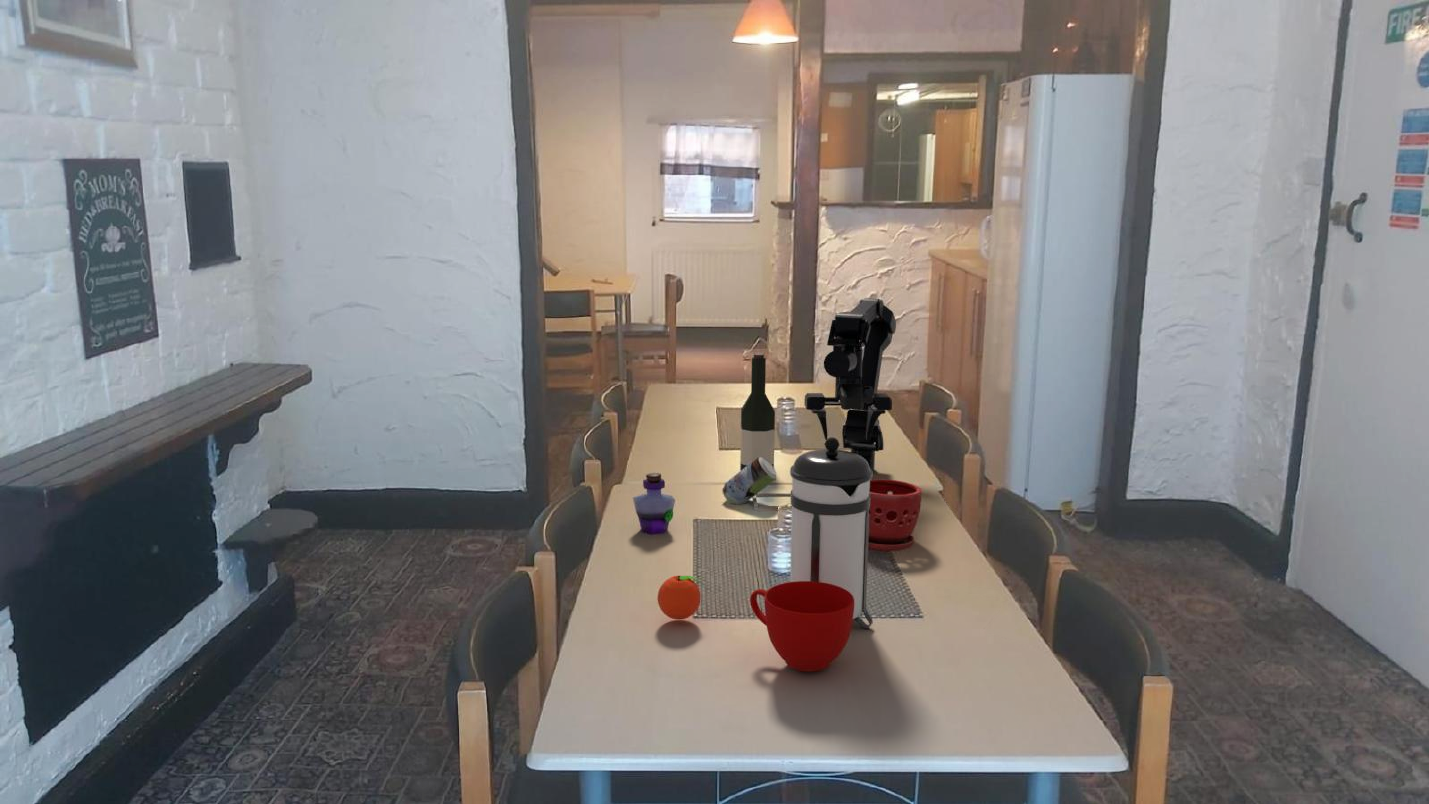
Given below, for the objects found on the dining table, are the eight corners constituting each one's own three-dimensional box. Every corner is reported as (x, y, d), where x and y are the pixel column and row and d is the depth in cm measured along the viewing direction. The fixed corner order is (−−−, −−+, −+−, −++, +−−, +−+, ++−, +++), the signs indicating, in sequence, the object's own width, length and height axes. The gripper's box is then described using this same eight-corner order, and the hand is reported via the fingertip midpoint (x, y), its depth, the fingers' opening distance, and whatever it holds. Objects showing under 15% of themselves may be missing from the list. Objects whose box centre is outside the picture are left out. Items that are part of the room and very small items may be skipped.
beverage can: (764, 462, 227) (716, 490, 230) (783, 487, 230) (735, 515, 232) (762, 448, 233) (716, 476, 235) (780, 473, 235) (734, 500, 238)
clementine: (698, 606, 178) (698, 565, 177) (713, 622, 172) (713, 579, 171) (651, 613, 176) (651, 571, 174) (665, 629, 169) (665, 586, 168)
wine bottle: (733, 476, 258) (734, 352, 252) (764, 473, 262) (766, 350, 256) (749, 485, 251) (750, 357, 245) (780, 481, 254) (783, 355, 248)
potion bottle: (670, 540, 212) (670, 480, 209) (628, 537, 213) (627, 478, 211) (679, 526, 220) (679, 469, 218) (637, 524, 221) (637, 467, 219)
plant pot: (913, 560, 202) (916, 498, 199) (844, 551, 206) (846, 491, 203) (923, 539, 214) (926, 480, 211) (858, 531, 218) (860, 474, 216)
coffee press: (890, 611, 177) (897, 432, 171) (851, 646, 163) (857, 453, 158) (795, 591, 186) (799, 420, 180) (750, 622, 172) (753, 438, 166)
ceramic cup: (776, 629, 169) (777, 568, 167) (869, 659, 159) (871, 595, 157) (724, 656, 160) (724, 592, 158) (819, 690, 149) (821, 621, 147)
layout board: (750, 500, 239) (750, 492, 238) (899, 501, 239) (899, 492, 239) (753, 517, 227) (753, 507, 226) (909, 517, 228) (910, 508, 227)
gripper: (810, 376, 229) (808, 448, 232) (898, 376, 230) (895, 448, 233) (805, 367, 240) (803, 436, 243) (888, 368, 241) (885, 436, 244)
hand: (846, 439), depth 240 cm, fingers open, 9 cm apart
